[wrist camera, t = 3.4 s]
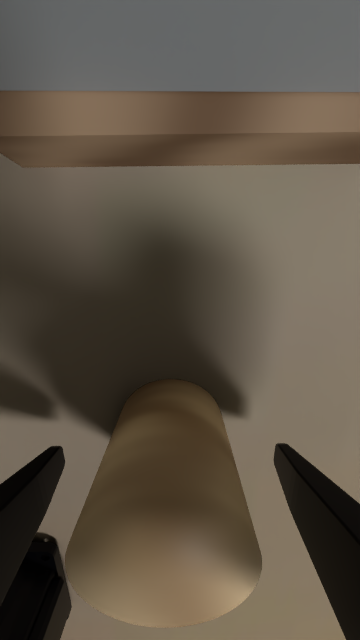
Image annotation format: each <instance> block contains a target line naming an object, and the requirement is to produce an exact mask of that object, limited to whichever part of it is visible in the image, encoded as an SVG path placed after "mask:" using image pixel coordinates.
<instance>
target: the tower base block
mask: <svg viewBox="0 0 360 640" xmlns="http://www.w3.org/2000/svg"><path fill="white" fill-rule="evenodd" d="M0 153H1V154H3V155H4V156H6V157H7V158H9V159H11V160H12V161H14V162H15V163H17V164H18V165H20V166H22V167H109V166H198V165H286V164H360V92H216V91H0Z"/></svg>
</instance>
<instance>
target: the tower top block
mask: <svg viewBox="0 0 360 640" xmlns="http://www.w3.org/2000/svg"><path fill="white" fill-rule="evenodd" d="M0 91H216V92H360V0H0Z"/></svg>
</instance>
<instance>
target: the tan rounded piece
mask: <svg viewBox="0 0 360 640" xmlns="http://www.w3.org/2000/svg"><path fill="white" fill-rule="evenodd" d="M65 568H66V573H67V576H68V579H69V581H70V583H71V585H72V587H73V588H74V590H75V591H76V592H77V593H78V595H79V596H80V597H81V598H82V599H83V600H84V601H85V602H87V603H88V604H89V605H91V606H92V607H93V608H95V609H96V610H98V611H100V612H101V613H103V614H105V615H108V616H110V617H112V618H115V619H117V620H120V621H123V622H127V623H130V624H135V625H140V626H147V627H162V628H169V627H182V626H190V625H194V624H199V623H203V622H206V621H209V620H212V619H215V618H217V617H220V616H222V615H224V614H225V613H227V612H229V611H231V610H232V609H234V608H235V607H237V606H238V605H239V604H241V603H242V602H243V601H244V600H245V599H246V598H247V597H248V596H249V595H250V594H251V592H252V591H253V589H254V588H255V586H256V585H257V582H258V580H259V578H260V574H261V570H262V558H261V552H260V548H259V545H258V541H257V538H256V534H255V531H254V527H253V524H252V520H251V517H250V513H249V510H248V506H247V503H246V499H245V496H244V492H243V489H242V485H241V482H240V478H239V475H238V471H237V468H236V464H235V460H234V457H233V453H232V450H231V446H230V443H229V439H228V436H227V432H226V429H225V425H224V422H223V418H222V415H221V412H220V409H219V406H218V404H217V403H216V401H215V400H214V398H213V397H212V396H211V395H210V394H209V393H208V392H207V391H206V390H204V389H203V388H201V387H200V386H198V385H196V384H193V383H191V382H188V381H184V380H178V379H163V380H158V381H154V382H151V383H148V384H146V385H144V386H142V387H141V388H139V389H138V390H136V391H135V392H134V393H133V394H132V395H131V396H130V397H129V398H128V400H127V401H126V403H125V405H124V407H123V409H122V411H121V414H120V416H119V419H118V421H117V424H116V426H115V429H114V431H113V434H112V436H111V439H110V441H109V444H108V446H107V449H106V451H105V454H104V456H103V459H102V461H101V464H100V466H99V469H98V471H97V474H96V476H95V479H94V481H93V484H92V486H91V489H90V491H89V494H88V496H87V499H86V501H85V504H84V506H83V509H82V511H81V514H80V517H79V519H78V522H77V524H76V527H75V529H74V532H73V534H72V537H71V539H70V542H69V544H68V547H67V551H66V554H65Z"/></svg>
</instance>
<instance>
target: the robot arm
mask: <svg viewBox="0 0 360 640" xmlns="http://www.w3.org/2000/svg"><path fill="white" fill-rule="evenodd" d="M274 465H275V468H276V471H277V474H278V477H279V480H280V483H281V486H282V488H283V491H284V494H285V497H286V500H287V503H288V506H289V509H290V511H291V514H292V516H293V518H294V521H295V523H296V525H297V528H298V530H299V532H300V535H301V537H302V539H303V541H304V544H305V546H306V548H307V551H308V553H309V555H310V558H311V560H312V562H313V564H314V567H315V569H316V571H317V574H318V576H319V578H320V581H321V583H322V585H323V587H324V590H325V592H326V594H327V597H328V599H329V601H330V604H331V606H332V608H333V610H334V613H335V615H336V617H337V620H338V622H339V624H340V627H341V629H342V631H343V633H344V636H345V638H346V640H360V504H359V503H358V502H357V501H356V500H354V499H353V498H352V497H351V496H350V495H348V494H347V493H346V492H345V491H343V490H342V489H341V488H340V487H339V486H337V485H336V484H335V483H334V482H333V481H331V480H330V479H329V478H328V477H327V476H325V475H324V474H323V473H322V472H320V471H319V470H318V469H317V468H316V467H314V466H313V465H312V464H311V463H310V462H308V461H307V460H306V459H305V458H303V457H302V456H301V455H300V454H299V453H297V452H296V451H295V450H294V449H293V448H291V447H290V446H289V445H288V444H285V443H278V444H276V446H275V453H274ZM64 466H65V459H64V453H63V448H62V447H61V446H51V447H49V448H48V449H47V450H45V451H44V452H43V453H41V454H40V455H39V456H37V457H36V458H35V459H33V460H32V461H31V462H29V463H28V464H27V465H25V466H24V467H23V468H21V469H20V470H19V471H17V472H16V473H15V474H13V475H12V476H11V477H9V478H8V479H7V480H5V481H4V482H3V483H1V484H0V640H60V638H61V635H62V632H63V629H64V626H65V623H66V620H67V619H68V617H69V614H70V611H71V608H72V605H71V601H70V597H69V593H68V588H67V584H66V580H65V576H64V572H63V567H62V563H61V559H60V555H59V550H58V547H57V546H56V545H55V544H53V543H50V542H32V540H33V538H34V536H35V534H36V532H37V530H38V528H39V526H40V524H41V522H42V520H43V518H44V516H45V514H46V511H47V509H48V507H49V504H50V502H51V499H52V497H53V494H54V492H55V489H56V487H57V484H58V482H59V479H60V476H61V474H62V471H63V469H64Z"/></svg>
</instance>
